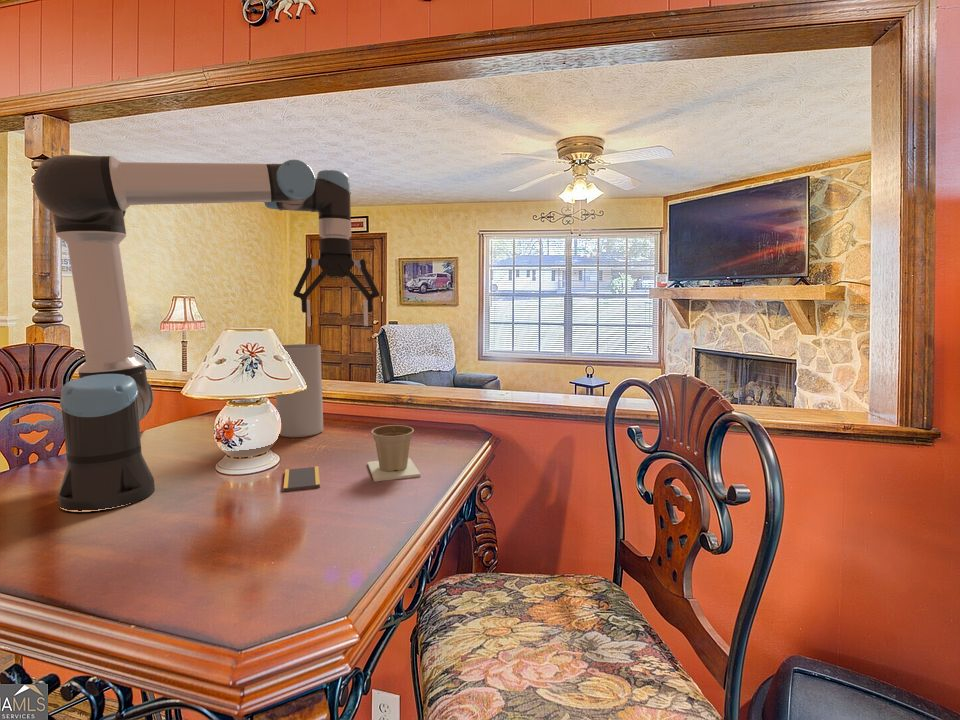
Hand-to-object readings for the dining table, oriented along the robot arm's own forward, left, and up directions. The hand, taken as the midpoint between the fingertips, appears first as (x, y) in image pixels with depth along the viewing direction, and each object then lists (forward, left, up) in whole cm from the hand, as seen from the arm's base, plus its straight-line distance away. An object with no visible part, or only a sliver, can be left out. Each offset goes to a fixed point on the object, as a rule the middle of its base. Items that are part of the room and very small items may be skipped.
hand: (338, 326), depth 128 cm
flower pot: (+10, -19, -31) cm, 38 cm away
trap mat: (-9, -19, -32) cm, 38 cm away
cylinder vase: (-10, +22, -32) cm, 40 cm away
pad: (+10, -19, -32) cm, 38 cm away
